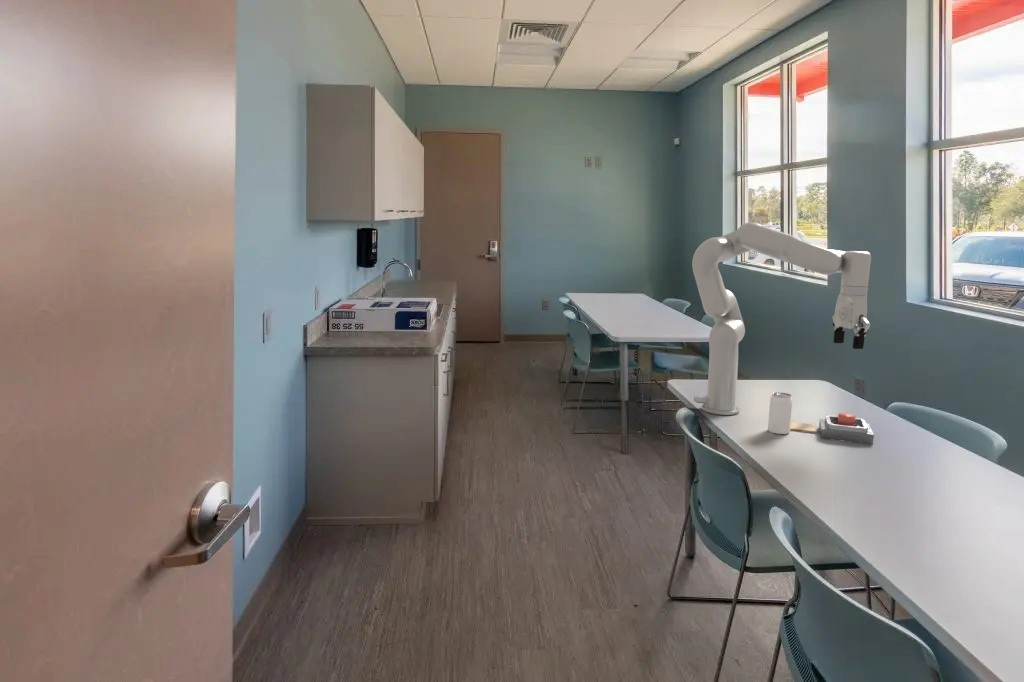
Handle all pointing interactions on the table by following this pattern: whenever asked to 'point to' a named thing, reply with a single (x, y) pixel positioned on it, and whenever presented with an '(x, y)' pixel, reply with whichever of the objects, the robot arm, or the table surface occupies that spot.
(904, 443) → the table surface
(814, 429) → the coaster
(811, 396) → the table surface
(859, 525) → the table surface
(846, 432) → the white shallow box
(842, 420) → the button
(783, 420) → the can
